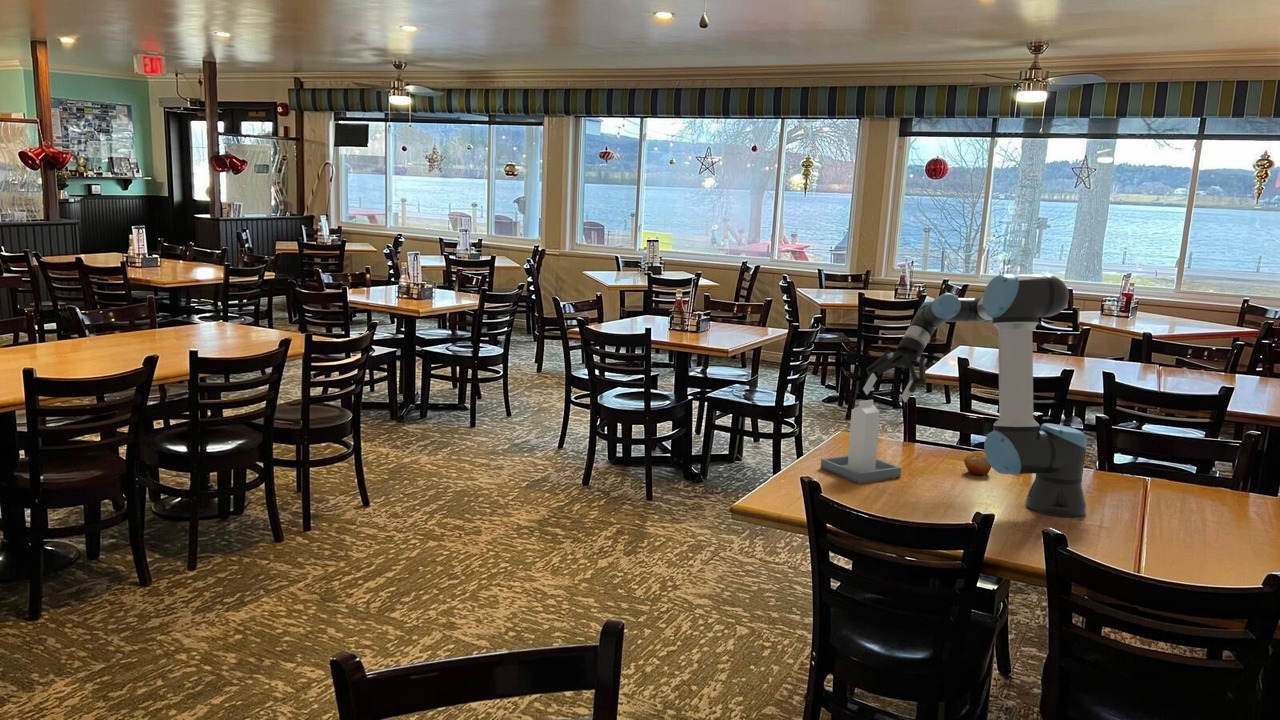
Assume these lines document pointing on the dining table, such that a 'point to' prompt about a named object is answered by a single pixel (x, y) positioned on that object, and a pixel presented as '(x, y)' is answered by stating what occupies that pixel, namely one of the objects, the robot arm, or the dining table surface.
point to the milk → (863, 437)
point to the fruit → (977, 463)
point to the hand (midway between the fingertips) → (884, 395)
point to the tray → (880, 473)
